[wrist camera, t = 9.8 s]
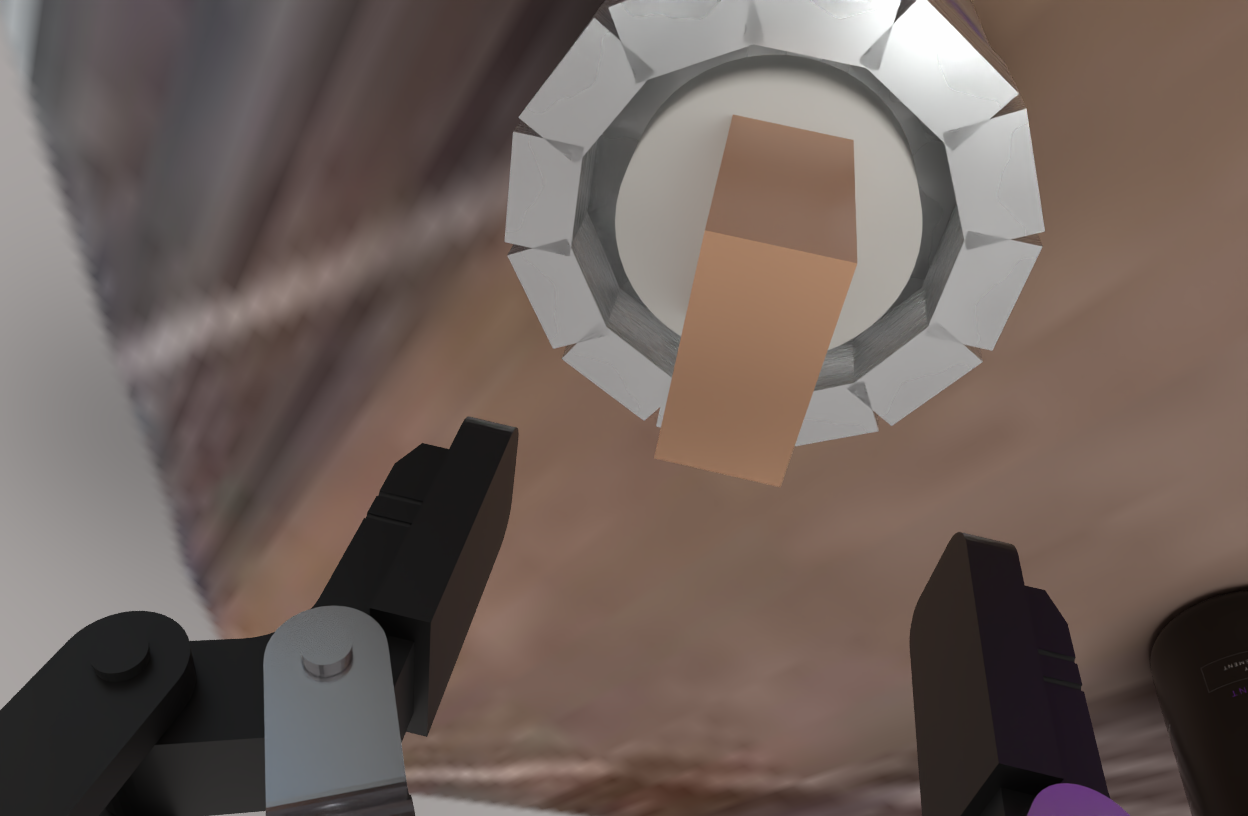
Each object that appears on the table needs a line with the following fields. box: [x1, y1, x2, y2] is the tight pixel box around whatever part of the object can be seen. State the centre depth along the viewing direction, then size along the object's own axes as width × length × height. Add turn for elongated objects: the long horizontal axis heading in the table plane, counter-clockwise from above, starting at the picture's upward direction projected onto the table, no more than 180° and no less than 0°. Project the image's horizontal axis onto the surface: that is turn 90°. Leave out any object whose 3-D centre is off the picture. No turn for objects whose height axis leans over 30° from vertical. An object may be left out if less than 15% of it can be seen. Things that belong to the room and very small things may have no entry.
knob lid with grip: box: [615, 55, 922, 487], centre depth 19 cm, size 6×6×7 cm
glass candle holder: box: [505, 0, 1045, 446], centre depth 23 cm, size 11×11×7 cm
